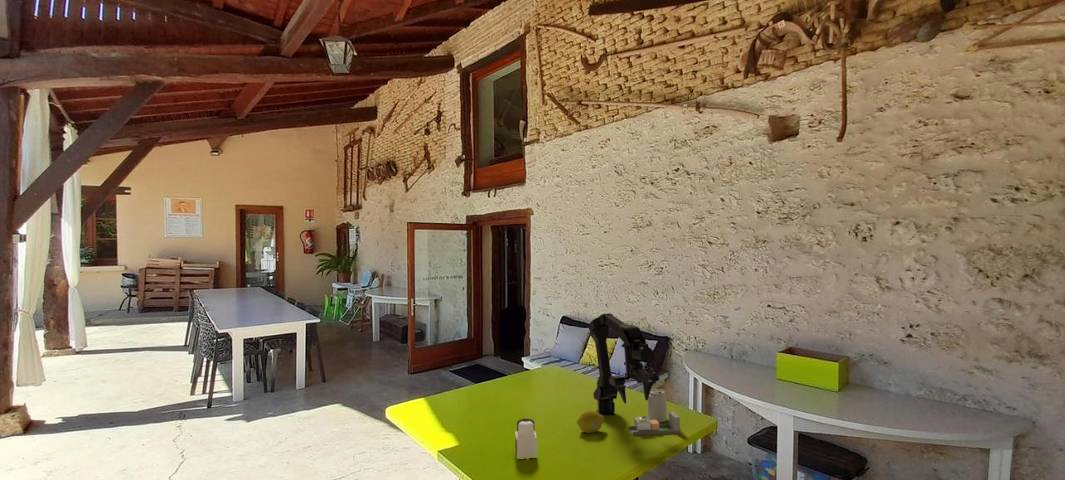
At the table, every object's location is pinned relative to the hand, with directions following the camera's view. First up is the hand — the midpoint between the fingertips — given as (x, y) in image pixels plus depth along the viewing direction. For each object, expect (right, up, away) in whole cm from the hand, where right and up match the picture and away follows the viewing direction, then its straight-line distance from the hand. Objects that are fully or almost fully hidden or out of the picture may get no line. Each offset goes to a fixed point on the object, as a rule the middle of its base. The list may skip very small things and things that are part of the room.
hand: (635, 401), depth 181 cm
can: (+12, -12, +13) cm, 21 cm away
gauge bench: (+7, -12, +1) cm, 14 cm away
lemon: (-17, -13, +2) cm, 21 cm away
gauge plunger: (+3, -12, +1) cm, 12 cm away
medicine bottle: (-42, -13, -17) cm, 47 cm away
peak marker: (+7, -12, +1) cm, 14 cm away
